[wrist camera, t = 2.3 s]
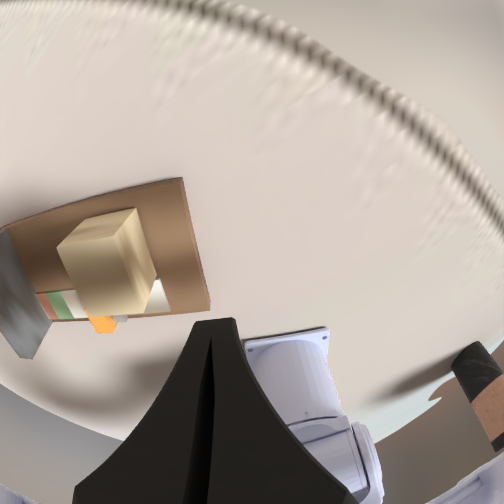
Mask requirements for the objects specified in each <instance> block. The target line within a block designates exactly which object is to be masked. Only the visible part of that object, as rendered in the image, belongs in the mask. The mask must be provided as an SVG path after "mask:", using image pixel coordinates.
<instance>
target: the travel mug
mask: <svg viewBox="0 0 504 504" xmlns="http://www.w3.org/2000/svg"><path fill="white" fill-rule="evenodd" d="M452 370H453V372H454V374H455V376H456V377H457V379H458V381H459V383H460V385H461V386H462V388H463V390H464V392H465V394H466V396H467V398H468V400H469V402H470V403H471V406H472V407H473V409H474V411H475V413H476V415H477V417H478V418H479V420H480V422H481V424H482V426H483V428H484V430H485V432H486V434H487V436H488V438H489V440H490V442H491V444H492V446H493V448H494V451H495V452H497V451H499V450H500V449H502V448H503V447H504V373H503V371H502V370H501V369H500V367H499V366H498V365H497V363H496V362H495V361H494V359H493V358H492V357H491V355H490V354H489V353H488V351H487V350H486V349H485V348H484V346H483V345H482V344H481V343H480V342H479V341H477V342H474V343H473V344H471V345H470V346H468V347H467V348H466V349H465V350H464V351H463V352H462V353H461V354H460V355H459V356H458V357H457V358H456V359H455V361H454V362H453V364H452Z"/></svg>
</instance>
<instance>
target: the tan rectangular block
mask: <svg viewBox="0 0 504 504" xmlns="http://www.w3.org/2000/svg"><path fill="white" fill-rule="evenodd" d="M56 248H57V251H58V253H59V255H60V258H61V260H62V262H63V265H64V267H65V269H66V271H67V273H68V276H69V278H70V280H71V282H72V284H73V286H74V288H75V290H76V292H77V294H78V296H79V298H80V300H81V302H82V304H83V306H84V307H85V309H86V311H87V313H88V315H89V317H95V316H112V318H113V320H114V321H115V322H126V321H127V318H128V316H129V314H138V313H144V311H145V308H146V305H147V302H148V299H149V296H150V293H151V290H152V287H153V284H154V281H155V278H156V275H157V274H156V271H155V268H154V265H153V262H152V259H151V256H150V253H149V250H148V246H147V243H146V240H145V237H144V233H143V230H142V226H141V223H140V219H139V216H138V212H137V209H136V208H132V209H127V210H122V211H118V212H113V213H109V214H105V215H100V216H96V217H92V218H88V219H85V220H84V221H83V222H82V223H81V224H79V225H78V226H77V227H76V228H75V229H74V230H73V231H72V232H71V233H70V234H69V235H68V236H67V237H66V238H65V239H64V240H63V241H62V242H61V243H60V244H59V245H58V246H57V247H56Z"/></svg>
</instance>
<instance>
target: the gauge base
mask: <svg viewBox="0 0 504 504" xmlns="http://www.w3.org/2000/svg"><path fill="white" fill-rule="evenodd" d="M132 208H136V209H137V212H138V216H139V219H140V223H141V226H142V230H143V233H144V237H145V240H146V243H147V246H148V250H149V253H150V256H151V259H152V262H153V265H154V268H155V271H156V274H157V275H156V278H155V281H154V284H153V287H152V290H151V293H150V296H149V299H148V302H147V305H146V308H145V311H144V313H138V314H129V316H128V318H139V317H151V316H163V315H173V314H183V313H193V312H202V311H210V297H209V293H208V289H207V285H206V281H205V277H204V273H203V269H202V265H201V261H200V257H199V252H198V248H197V244H196V239H195V235H194V230H193V226H192V221H191V217H190V212H189V207H188V202H187V198H186V193H185V188H184V183H183V177H180V178H175V179H170V180H165V181H160V182H155V183H150V184H145V185H141V186H136V187H132V188H128V189H124V190H119V191H115V192H111V193H107V194H104V195H100V196H96V197H92V198H89V199H85V200H81V201H78V202H75V203H71V204H68V205H64V206H61V207H58V208H55V209H52V210H49V211H45V212H42V213H39V214H36V215H34V216H31V217H28V218H25V219H22V220H19V221H17V222H14V223H11V224H9V225H6V226H4V227H2V228H1V229H0V331H1V333H2V334H3V335H4V337H5V338H6V340H7V341H8V343H9V344H10V345H11V347H12V348H13V349H14V351H15V352H16V353H17V355H18V356H19V357H20V358H25V359H33V357H34V355H35V353H36V351H37V350H38V348H39V346H40V344H41V342H42V340H43V338H44V336H45V335H46V333H47V331H48V329H49V328H50V326H51V324H52V322H65V321H90V320H89V318H88V316H87V315H86V313H85V311H84V308H85V307H84V306H83V304H82V302H81V300H80V298H79V296H78V294H77V292H76V290H75V288H74V286H73V284H72V282H71V280H70V278H69V276H68V273H67V271H66V269H65V267H64V265H63V262H62V260H61V258H60V255H59V253H58V251H57V248H56V247H57V246H58V245H59V244H60V243H61V242H62V241H63V240H64V239H65V238H66V237H67V236H68V235H69V234H70V233H71V232H72V231H73V230H74V229H75V228H76V227H77V226H78V225H79V224H81V223H82V222H83V221H84V220H85V219H88V218H92V217H96V216H100V215H105V214H109V213H113V212H118V211H122V210H127V209H132Z"/></svg>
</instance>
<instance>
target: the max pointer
mask: <svg viewBox="0 0 504 504" xmlns="http://www.w3.org/2000/svg"><path fill="white" fill-rule="evenodd" d="M84 311H85V313H86V315H87V316H88V318H89V320H90V322H91V323H92V325H93V327H94V328H95V330H96V332H97V333H113V332H114V329H115V327H116V324H117V322H115V321H114V320H113V318H112V316H95V317H89V315H88V313H87V311H86V309H85V308H84Z"/></svg>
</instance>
